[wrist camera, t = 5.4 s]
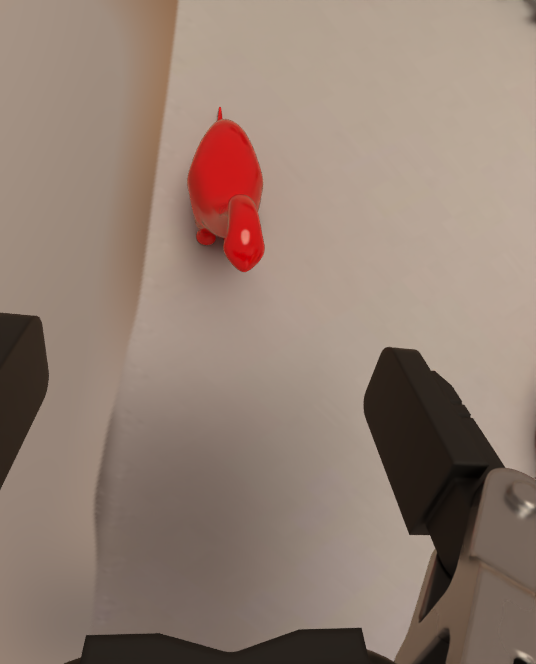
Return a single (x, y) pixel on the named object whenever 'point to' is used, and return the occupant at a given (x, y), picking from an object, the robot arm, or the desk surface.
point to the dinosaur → (228, 193)
